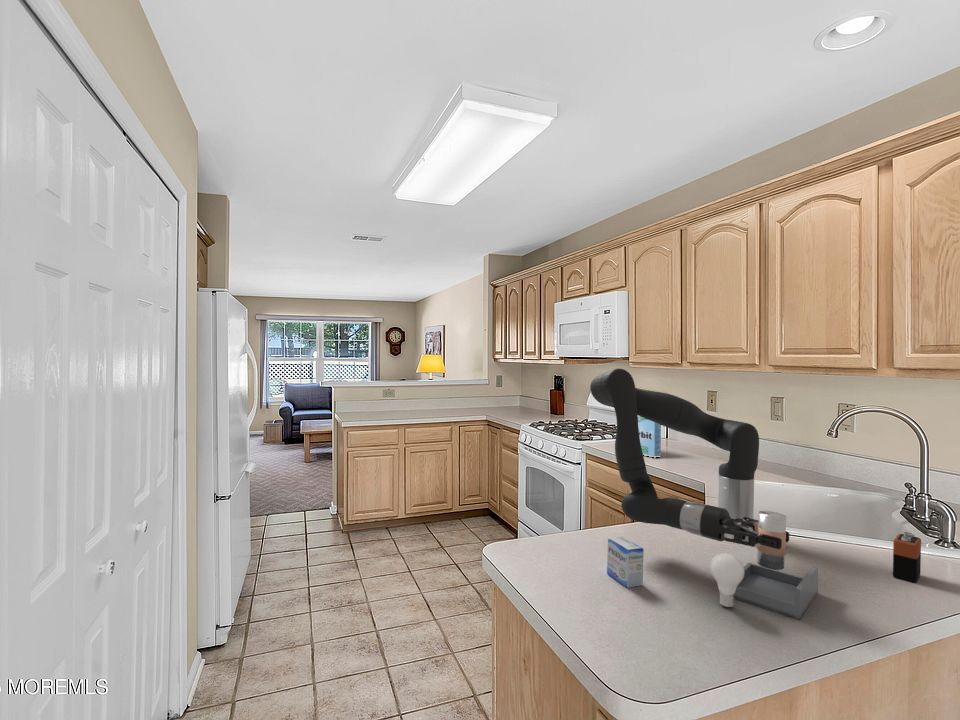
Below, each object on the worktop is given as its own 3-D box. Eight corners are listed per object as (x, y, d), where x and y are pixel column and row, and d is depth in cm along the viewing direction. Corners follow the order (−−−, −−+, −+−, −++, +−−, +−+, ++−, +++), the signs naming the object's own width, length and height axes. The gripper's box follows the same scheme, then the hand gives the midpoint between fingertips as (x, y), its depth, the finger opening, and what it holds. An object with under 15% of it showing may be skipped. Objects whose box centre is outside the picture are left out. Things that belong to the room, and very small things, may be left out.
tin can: (760, 557, 113) (762, 509, 112) (787, 565, 109) (789, 515, 109) (753, 564, 109) (755, 514, 109) (780, 572, 105) (782, 520, 105)
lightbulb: (751, 612, 101) (752, 558, 101) (725, 616, 99) (726, 561, 99) (727, 597, 107) (728, 546, 107) (702, 601, 105) (703, 549, 105)
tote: (748, 573, 120) (749, 548, 119) (817, 593, 110) (818, 566, 110) (724, 595, 108) (725, 567, 108) (799, 620, 98) (800, 589, 98)
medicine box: (606, 574, 118) (606, 537, 118) (621, 571, 120) (622, 535, 120) (627, 588, 111) (627, 550, 111) (643, 585, 112) (644, 547, 112)
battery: (920, 575, 120) (921, 534, 119) (916, 583, 115) (917, 540, 115) (897, 569, 123) (898, 529, 123) (892, 577, 118) (893, 535, 118)
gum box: (660, 458, 256) (661, 413, 256) (654, 458, 253) (654, 414, 253) (632, 451, 273) (632, 409, 273) (625, 452, 270) (626, 410, 270)
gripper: (692, 510, 114) (776, 531, 102) (716, 499, 124) (794, 516, 112) (691, 543, 114) (775, 567, 102) (715, 529, 124) (793, 549, 112)
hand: (784, 540), depth 107 cm, fingers closed on tin can, 5 cm apart
